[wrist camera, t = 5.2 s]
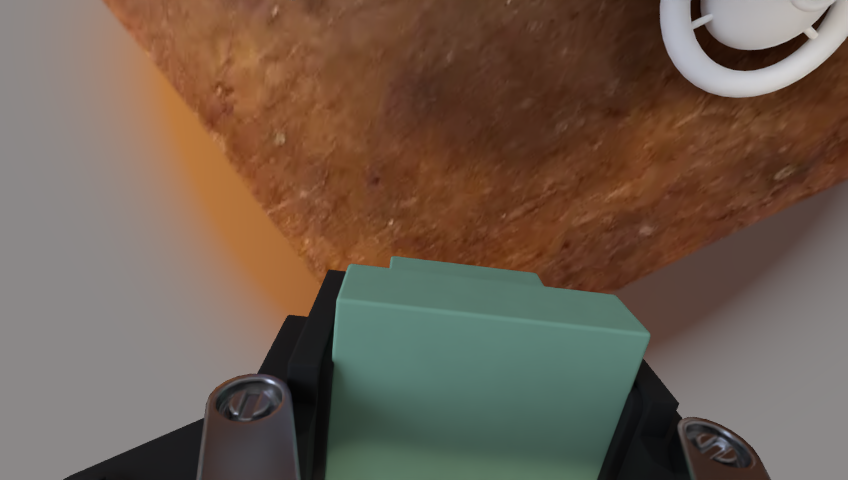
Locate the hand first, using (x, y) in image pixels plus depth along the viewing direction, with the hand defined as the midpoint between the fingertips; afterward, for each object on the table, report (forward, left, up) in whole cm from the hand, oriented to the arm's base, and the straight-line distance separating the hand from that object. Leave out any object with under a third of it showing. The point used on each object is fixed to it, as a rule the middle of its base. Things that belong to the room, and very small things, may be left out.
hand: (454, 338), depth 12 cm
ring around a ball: (+11, +11, -12) cm, 19 cm away
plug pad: (0, 0, -1) cm, 1 cm away
